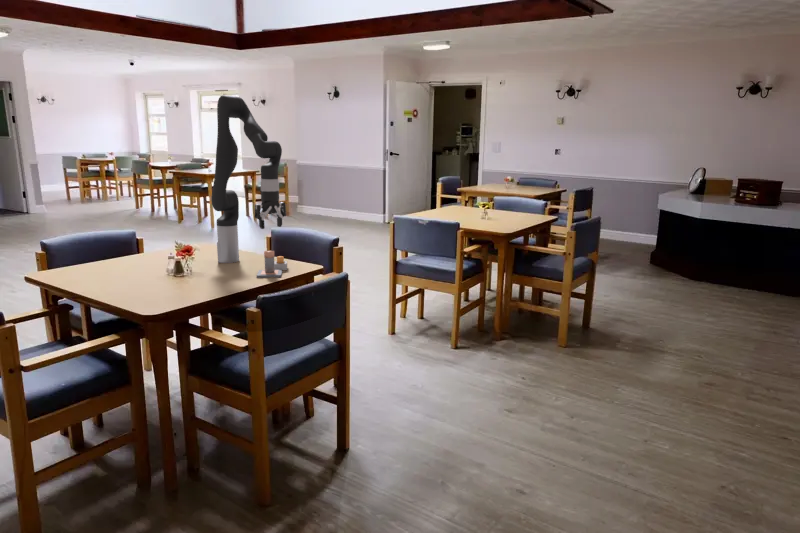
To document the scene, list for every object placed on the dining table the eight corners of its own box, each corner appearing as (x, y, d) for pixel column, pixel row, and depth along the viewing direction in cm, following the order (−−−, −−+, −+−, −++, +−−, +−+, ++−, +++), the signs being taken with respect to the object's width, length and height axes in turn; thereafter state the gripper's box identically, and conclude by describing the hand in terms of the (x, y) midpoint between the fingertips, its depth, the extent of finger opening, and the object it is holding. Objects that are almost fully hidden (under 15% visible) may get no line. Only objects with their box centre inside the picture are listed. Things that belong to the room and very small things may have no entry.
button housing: (273, 270, 249) (273, 264, 248) (274, 267, 254) (274, 261, 253) (286, 270, 250) (286, 263, 249) (287, 267, 255) (287, 261, 254)
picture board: (256, 277, 236) (256, 275, 236) (258, 272, 246) (258, 269, 245) (281, 277, 238) (280, 274, 237) (282, 271, 247) (282, 269, 247)
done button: (276, 264, 250) (276, 257, 249) (277, 262, 252) (277, 256, 252) (283, 264, 250) (283, 257, 249) (284, 262, 253) (283, 256, 252)
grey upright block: (264, 273, 239) (263, 252, 237) (265, 271, 243) (264, 250, 241) (274, 273, 240) (273, 252, 238) (275, 270, 244) (274, 250, 242)
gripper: (278, 187, 245) (279, 224, 249) (250, 189, 235) (251, 228, 239) (289, 189, 240) (289, 227, 244) (260, 191, 230) (261, 230, 234)
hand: (270, 227), depth 241 cm, fingers open, 8 cm apart
